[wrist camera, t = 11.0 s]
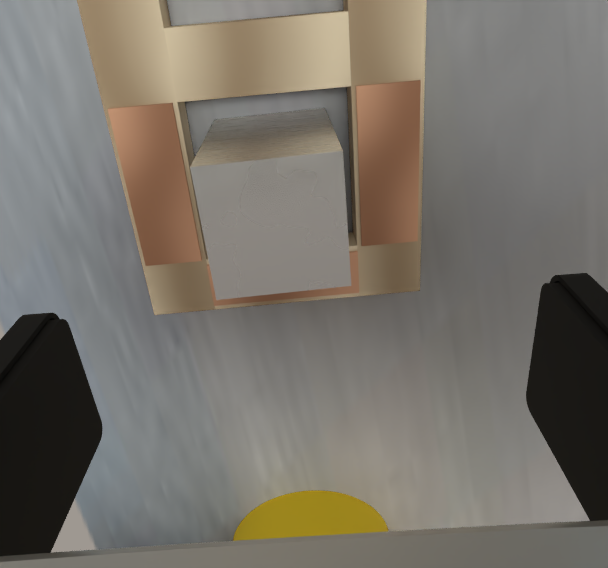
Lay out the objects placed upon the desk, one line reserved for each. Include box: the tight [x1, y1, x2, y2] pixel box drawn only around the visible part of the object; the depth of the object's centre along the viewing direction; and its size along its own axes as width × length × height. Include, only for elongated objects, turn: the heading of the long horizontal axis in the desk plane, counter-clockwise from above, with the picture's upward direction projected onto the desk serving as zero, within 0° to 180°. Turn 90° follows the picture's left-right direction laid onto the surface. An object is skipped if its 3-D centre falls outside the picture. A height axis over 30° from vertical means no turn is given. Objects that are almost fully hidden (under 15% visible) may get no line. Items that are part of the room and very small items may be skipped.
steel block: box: [190, 108, 351, 300], centre depth 20 cm, size 4×4×7 cm
